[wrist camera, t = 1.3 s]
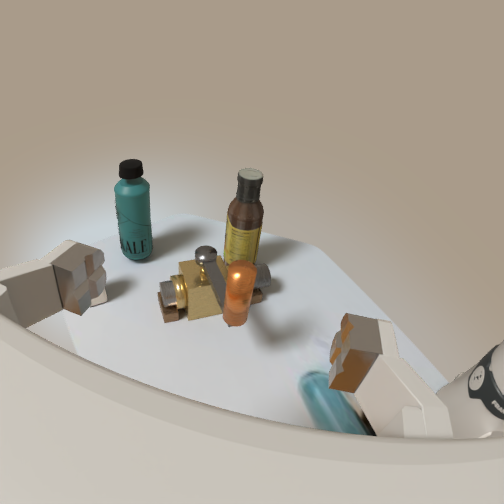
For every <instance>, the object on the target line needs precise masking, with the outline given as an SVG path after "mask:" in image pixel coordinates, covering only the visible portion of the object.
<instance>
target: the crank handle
mask: <svg viewBox="0 0 504 504" xmlns="http://www.w3.org/2000/svg"><path fill="white" fill-rule="evenodd" d="M216 260H217V251H216V249H215V248H213V247H211V246H201V247H198V248H197V249H196V251H195V262H196V264H197V265H199V266H200V267H203V270H204V272H205V274H206V277H207V279H208V281H209V284H210V286H211V288H212V291H213V293H214V295H215V297H216V300H217V302H218V304H219V306H220V309H221V311H222V313H223V319H224V321H225V322H226V323H227V324H228V327H231V326H241V325H243V324H244V323H245V322H246V321H247V317H248V312H249V307H250V302H251V298H252V293H253V288H254V283H255V278H256V274H257V269H256V267H255V265H254V264H253V263H251V262H249V261H246V260H236V261H233V262H232V263H231V264H230V265H229V268H228V276H227V284H226V282H225V280H224V277H223V275H222V273H221V271H220V269H219V267H218V265H217V263H216Z"/></svg>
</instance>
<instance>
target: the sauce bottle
mask: <svg viewBox="0 0 504 504" xmlns="http://www.w3.org/2000/svg"><path fill="white" fill-rule="evenodd" d="M262 182H263V174H262V172H260V171H259V170H256V169H252V168H245V169H241V170H240V171H239V173H238V189H237V193H236V194H237V195H236V198H235V199H234V200H233V201H232V202H231V203H230V205H229V208H228V212H227V223H226V234H225V245H224V264H225V266H229V265H230V264H231V263H232V262H233V261H236V260H246V261H249V262H251V263H253V264H255V261H256V257H257V252H258V246H259V240H260V234H261V229H262V219H263V213H264V210H263V206H262V204H261V202H260V200H259V197H260V187H261V184H262Z"/></svg>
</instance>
